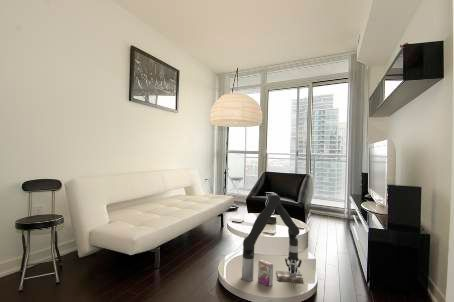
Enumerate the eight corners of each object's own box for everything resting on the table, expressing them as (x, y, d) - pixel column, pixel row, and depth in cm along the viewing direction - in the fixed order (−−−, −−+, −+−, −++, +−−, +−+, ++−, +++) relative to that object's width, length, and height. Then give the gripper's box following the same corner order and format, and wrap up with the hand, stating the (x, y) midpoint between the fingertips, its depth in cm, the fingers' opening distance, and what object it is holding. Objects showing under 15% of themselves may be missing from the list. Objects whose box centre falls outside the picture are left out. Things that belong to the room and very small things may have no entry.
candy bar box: (257, 281, 189) (258, 260, 190) (261, 279, 192) (262, 259, 194) (269, 287, 181) (269, 265, 182) (272, 285, 184) (273, 263, 186)
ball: (297, 270, 198) (300, 274, 198) (296, 268, 202) (299, 272, 202) (293, 273, 198) (296, 277, 198) (293, 271, 202) (295, 275, 202)
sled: (289, 278, 192) (290, 265, 193) (287, 272, 203) (288, 259, 204) (296, 279, 191) (296, 265, 192) (293, 273, 203) (293, 260, 203)
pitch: (278, 281, 192) (278, 275, 192) (276, 272, 207) (276, 267, 208) (303, 283, 190) (303, 277, 190) (299, 274, 205) (299, 269, 206)
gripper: (285, 251, 192) (284, 273, 191) (303, 252, 191) (302, 274, 189) (283, 248, 199) (283, 269, 198) (301, 249, 198) (300, 270, 197)
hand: (292, 271), depth 194 cm, fingers open, 4 cm apart
